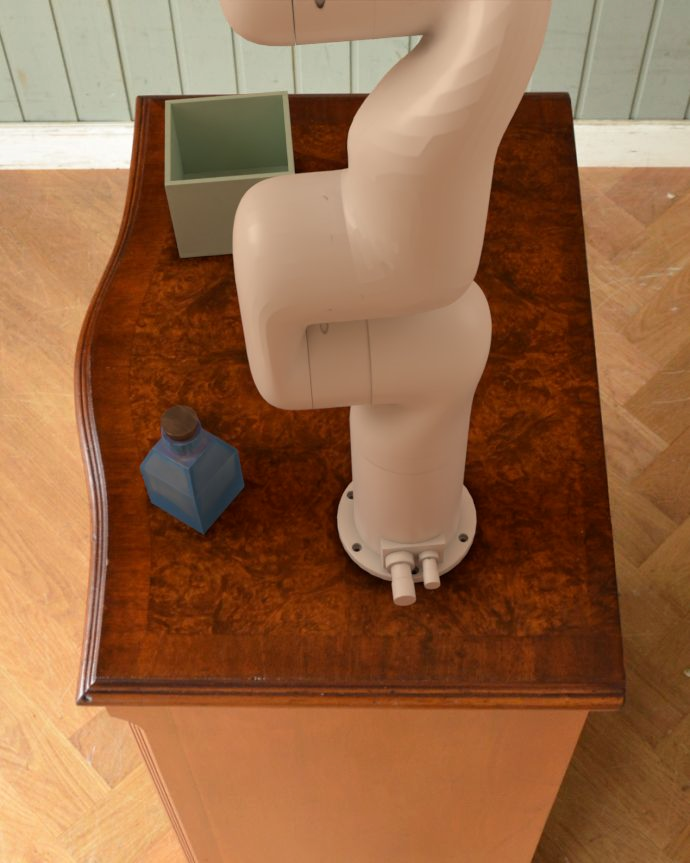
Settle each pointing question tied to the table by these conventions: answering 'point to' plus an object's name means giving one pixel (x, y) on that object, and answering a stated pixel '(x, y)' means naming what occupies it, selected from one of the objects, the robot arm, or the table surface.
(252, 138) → the waste bin
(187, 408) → the perfume bottle
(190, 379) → the table surface
